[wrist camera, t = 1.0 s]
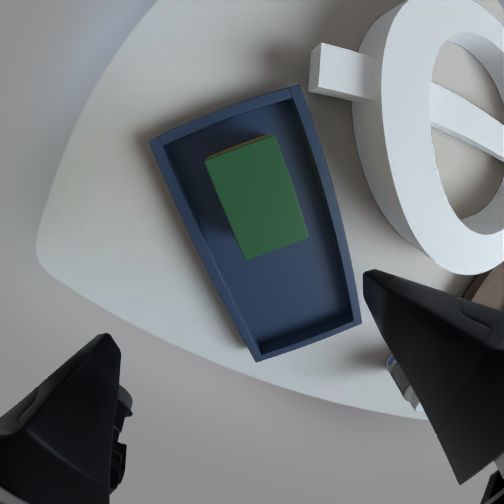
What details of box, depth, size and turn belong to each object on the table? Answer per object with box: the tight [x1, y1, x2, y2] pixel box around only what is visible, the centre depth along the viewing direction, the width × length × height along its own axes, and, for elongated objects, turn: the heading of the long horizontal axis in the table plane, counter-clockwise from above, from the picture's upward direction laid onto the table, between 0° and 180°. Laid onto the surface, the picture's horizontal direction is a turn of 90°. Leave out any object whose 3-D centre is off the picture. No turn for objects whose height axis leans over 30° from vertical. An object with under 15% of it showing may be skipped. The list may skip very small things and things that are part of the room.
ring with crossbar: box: [308, 0, 504, 275], centre depth 17 cm, size 28×28×5 cm
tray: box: [149, 85, 362, 362], centre depth 22 cm, size 11×22×2 cm, turn 20°
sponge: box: [204, 135, 309, 261], centre depth 19 cm, size 4×7×4 cm, turn 20°
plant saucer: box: [464, 261, 504, 310], centre depth 28 cm, size 18×18×3 cm
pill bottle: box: [386, 354, 424, 412], centre depth 27 cm, size 5×5×8 cm
